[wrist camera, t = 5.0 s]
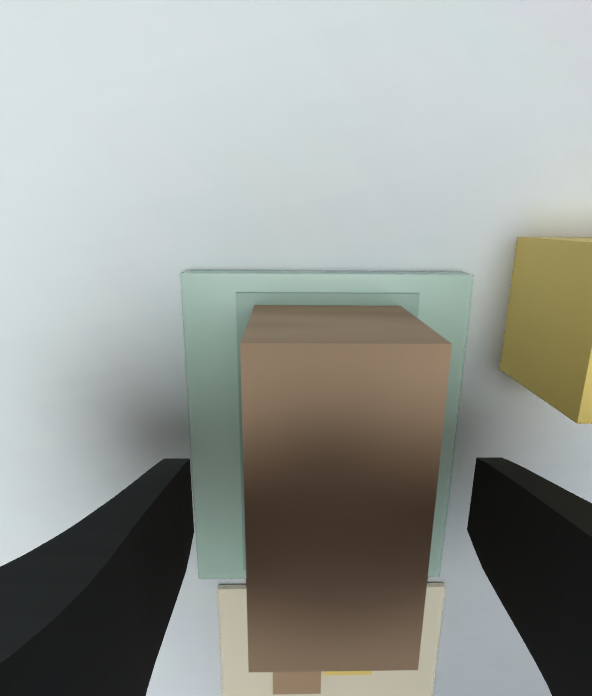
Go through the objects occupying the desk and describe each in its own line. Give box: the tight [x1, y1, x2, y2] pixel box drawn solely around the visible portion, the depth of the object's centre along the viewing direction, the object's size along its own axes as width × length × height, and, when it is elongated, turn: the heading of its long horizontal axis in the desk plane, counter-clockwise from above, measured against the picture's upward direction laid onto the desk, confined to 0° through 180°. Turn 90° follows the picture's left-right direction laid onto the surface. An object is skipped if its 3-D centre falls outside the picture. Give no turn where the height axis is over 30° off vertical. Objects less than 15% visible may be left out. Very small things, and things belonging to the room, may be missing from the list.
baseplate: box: [180, 270, 474, 579], centre depth 14 cm, size 10×8×1 cm
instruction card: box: [218, 583, 445, 696], centre depth 17 cm, size 6×8×1 cm
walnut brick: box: [240, 305, 452, 672], centre depth 12 cm, size 8×4×4 cm, turn 0°
